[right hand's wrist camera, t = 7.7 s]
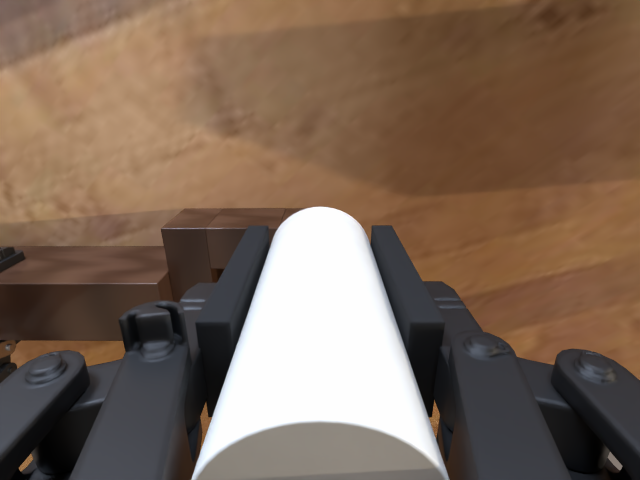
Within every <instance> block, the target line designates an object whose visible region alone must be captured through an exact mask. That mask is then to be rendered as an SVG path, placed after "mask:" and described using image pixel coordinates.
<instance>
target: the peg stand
mask: <svg viewBox="0 0 640 480" xmlns="http://www.w3.org/2000/svg"><path fill="white" fill-rule="evenodd" d="M301 210H304V209H285V208H261V209H184V210H183V211H181V212H180V213H179V214H178V215H177V216H175V217H174V218H173V219H172V220H171V221H169V222H168V223H167V224H166V225H165V226H163V227H162V228H161V232H162V238H163V243H164V246H123V247H14V250H23V253H24V256H25V259H24V260H22V261H20V262H18V263H16V264H15V265H13V266H11V267H9V268H7V269H6V270H4V271H2V272H0V340H72V341H123V338H122V333H121V329H120V325H119V320H118V319H119V318H120V317H121V316H122V315H123V314H124V313H125V312H127V311H128V310H130V309H132V308H133V307H136V306H138V305H141V304H144V303H148V302H153V301H173V302H177V303H178V302H180V299H181V298H182V297H183V295H184V294H185V292H186V291H187V290H188V289H190V288H191V287H193V286H194V285H196V284H197V283H217V282H218V280H219V278H220V277H221V275H222V273H223V271H224V269H225V268H226V266H227V264H228V262H229V260H230V259H231V257H232V255H233V253H234V251H235V250H236V248H237V246H238V244H239V242H240V241H241V239H242V237H243V235H244V233H245V232H246V230H247V228H248V226H269V245H270V246H271V243H272V240H273V237H274V235H275V233H276V231H277V229H278V228H279V226H280V225H281V224H282V223H283V222H284V221H285V220H286V219H287V218H289V217H290V216H291V215H293V214H295V213H297V212H299V211H301Z"/></svg>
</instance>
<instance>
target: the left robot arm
mask: <svg viewBox="0 0 640 480" xmlns="http://www.w3.org/2000/svg"><path fill="white" fill-rule="evenodd" d="M24 259H25V256H24V253H23V250H14V247H0V272H2V271H4V270H6V269H7V268H9V267H11V266H13V265H15V264H16V263H18V262H20V261H22V260H24ZM20 341H21V340H0V383H1V382H2V381H3V380H5V379H6V378H7V377H8V376H9V375H10V374H12V373H13V372H14V371H15V370H16V369H17V365H16V364H15V363H10V354H12V353H13V352H14V351H15V348H16V344H17V343H18V342H20Z"/></svg>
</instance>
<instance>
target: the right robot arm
mask: <svg viewBox="0 0 640 480" xmlns="http://www.w3.org/2000/svg"><path fill="white" fill-rule="evenodd" d="M371 248H372V251H373V254H374V257H375V260H376V263H377V266H378V269H379V272H380V275H381V278H382V281H383V284H384V287H385V290H386V293H387V296H388V299H389V302H390V305H391V308H392V311H393V314H394V317H395V320H396V322H397V325H398V328H399V331H400V334H401V337H402V340H403V343H404V346H405V349H406V352H407V355H408V358H409V361H410V364H411V367H412V370H413V373H414V376H415V379H416V382H417V385H418V388H419V391H420V394H421V397H422V400H423V403H424V406H425V408H426V411H427V414H428V417H432V412H433V405H434V400H435V402H436V405H437V408H438V410H439V413H440V419H439V426H438V432H437V439H436V441H437V444H438V447H439V450H440V453H441V456H442V459H443V462H444V465H445V468H446V471H447V474H448V477H449V480H640V380H639V379H637V378H636V377H635V376H634V375H633V374H631V373H630V372H629V371H628V370H627V369H626V368H624V367H623V366H621V365H620V364H618V363H617V362H615V361H614V360H612V359H609V358H607V357H605V356H603V355H601V354H599V353H596V352H591V351H588V350H581V349H568V350H562V351H561V352H560V353H559V354H558V355H557V357H556V360H555V364H554V365H551V364H546V363H541V362H536V361H531V360H527V359H523V358H519V357H517V356H516V354H515V352H514V350H513V349H512V348H511V346H510V345H509V344H508V343H506V342H505V341H504V340H502V339H501V338H499V337H497V336H494V335H492V334H490V333H486V332H483V331H482V329H481V328H480V326H479V325H478V323H477V322H476V320H475V319H474V318H473V316H472V315H471V313H470V312H469V310H468V309H466V306H465V305H464V303H463V302H462V301H461V300H460V297H459V296H458V295H457V293H456V292H455V290H454V289H452V288H451V287H449V286H448V285H446V284H445V283H443V282H434V281H422V280H421V278H420V276H419V274H418V272H417V271H416V269H415V267H414V265H413V263H412V262H411V260H410V258H409V256H408V254H407V253H406V251H405V249H404V247H403V245H402V244H401V242H400V240H399V238H398V236H397V235H396V233H395V231H394V229H393V227H392V226H372V232H371ZM269 249H270V245H269V226H248V228H247V230H246V232H245V233H244V235H243V237H242V239H241V241H240V242H239V244H238V246H237V248H236V250H235V251H234V253H233V255H232V257H231V259H230V260H229V262H228V264H227V266H226V268H225V269H224V271H223V273H222V275H221V277H220V278H219V280H218V282H217V283H197V284H196V285H194V286H193V287H191V288H190V289H188V290H187V291H186V292H185V294H184V295H183V297H182V298H181V299H180V302H178V303H177V302H173V301H153V302H148V303H144V304H141V305H138V306H136V307H133V308H132V309H130V310H128V311H127V312H125V313H124V314H123V315H122V316H121V317H120V318H119V319H118V320H119V325H120V329H121V333H122V338H123V342H124V346H125V351H126V352H125V355H124V357H123V359H120V360H116V361H112V362H107V363H102V364H97V365H93V366H88V367H87V366H86V363H85V359H84V356H83V355H81V354H80V353H79V352H75V351H70V350H67V351H56V352H51V353H49V354H48V353H47V354H44V355H41V356H39V357H37V358H35V359H33V360H31V361H29V362H27V363H25V364H24V365H22V366H21V367H19V368H18V369H16V370H15V371H14V372H13V373H12V374H10V375H9V376H8V377H7V378H6V379H5V380H3V381H2V382H1V383H0V480H191V479H192V476H193V473H194V470H195V467H196V464H197V461H198V458H199V455H200V449H201V440H202V426H201V419H200V416H201V413H202V410H203V408H204V405H205V402H206V403H207V410H208V417H213V414H214V411H215V408H216V405H217V402H218V399H219V396H220V393H221V390H222V387H223V384H224V381H225V378H226V375H227V373H228V370H229V367H230V364H231V361H232V358H233V355H234V352H235V349H236V346H237V343H238V340H239V337H240V334H241V331H242V328H243V325H244V322H245V319H246V317H247V314H248V311H249V308H250V305H251V302H252V299H253V296H254V293H255V290H256V287H257V284H258V281H259V278H260V275H261V272H262V269H263V266H264V263H265V260H266V258H267V255H268V252H269ZM609 452H611V453H612V454H613V455H614V456H615V458H616V459H617V460H618V461H619V462H620V463H621V465H622V466H623V467H622V469H621V470H618V469H617V468H616V467H615V466H614V465H613V464H612V463H611V461H610V460H609V459H608V458H607V457H608V455H609ZM30 454H32V456H33V460H32V462H31V463H30V464H29V465H28V466H27V467H26V468H25V469H24V470H23V471H22V472H20V471H19V467H20V465H21V464H22V463H23V462H24V461H25V460H26V458H27V457H28V456H29V455H30Z"/></svg>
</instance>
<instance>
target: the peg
mask: <svg viewBox="0 0 640 480" xmlns="http://www.w3.org/2000/svg"><path fill="white" fill-rule="evenodd" d="M191 480H449V477H448V474H447V471H446V468H445V465H444V462H443V459H442V456H441V453H440V450H439V447H438V444H437V441H436V438H435V435H434V432H433V429H432V426H431V423H430V420H429V417H428V414H427V411H426V408H425V406H424V403H423V400H422V397H421V394H420V391H419V388H418V385H417V382H416V379H415V376H414V373H413V370H412V367H411V364H410V361H409V358H408V355H407V352H406V349H405V346H404V343H403V340H402V337H401V334H400V331H399V328H398V325H397V322H396V320H395V317H394V314H393V311H392V308H391V305H390V302H389V299H388V296H387V293H386V290H385V287H384V284H383V281H382V278H381V275H380V272H379V269H378V266H377V263H376V260H375V257H374V254H373V251H372V248H371V245H370V242H369V239H368V237H367V235H366V233H365V231H364V229H363V228H362V226H361V225H360V224H359V223H358V222H357V221H356V220H355V219H354V218H353V217H351V216H350V215H348V214H347V213H344V212H342V211H340V210H337V209H334V208H329V207H312V208H307V209H304V210H301V211H299V212H297V213H295V214H293V215H291V216H290V217H289V218H287V219H286V220H285V221H284V222H283V223H282V224H281V225H280V226H279V228H278V229H277V231H276V233H275V235H274V237H273V240H272V243H271V246H270V249H269V252H268V255H267V258H266V260H265V263H264V266H263V269H262V272H261V275H260V278H259V281H258V284H257V287H256V290H255V293H254V296H253V299H252V302H251V305H250V308H249V311H248V314H247V317H246V319H245V322H244V325H243V328H242V331H241V334H240V337H239V340H238V343H237V346H236V349H235V352H234V355H233V358H232V361H231V364H230V367H229V370H228V373H227V375H226V378H225V381H224V384H223V387H222V390H221V393H220V396H219V399H218V402H217V405H216V408H215V411H214V414H213V417H212V420H211V423H210V426H209V429H208V432H207V434H206V437H205V440H204V443H203V446H202V449H201V452H200V455H199V458H198V461H197V464H196V467H195V470H194V473H193V476H192V479H191Z"/></svg>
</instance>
